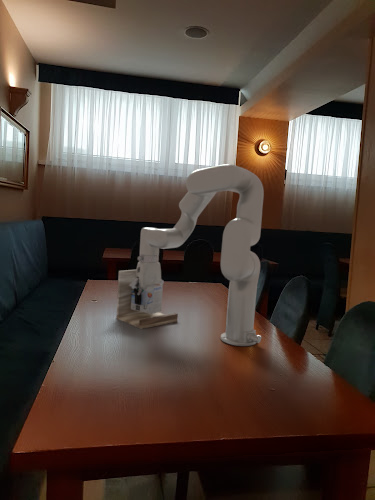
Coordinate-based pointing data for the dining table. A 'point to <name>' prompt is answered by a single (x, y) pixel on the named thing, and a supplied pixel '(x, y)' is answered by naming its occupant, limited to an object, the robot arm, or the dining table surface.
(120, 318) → the board
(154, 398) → the dining table surface
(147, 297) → the light bulb box
